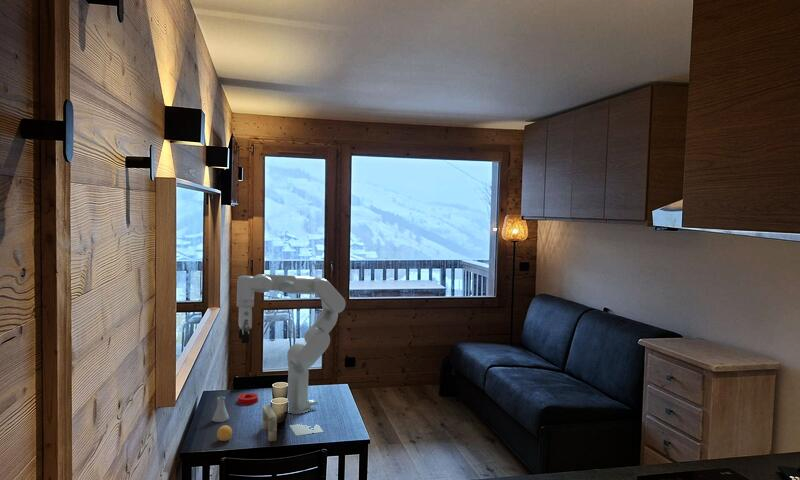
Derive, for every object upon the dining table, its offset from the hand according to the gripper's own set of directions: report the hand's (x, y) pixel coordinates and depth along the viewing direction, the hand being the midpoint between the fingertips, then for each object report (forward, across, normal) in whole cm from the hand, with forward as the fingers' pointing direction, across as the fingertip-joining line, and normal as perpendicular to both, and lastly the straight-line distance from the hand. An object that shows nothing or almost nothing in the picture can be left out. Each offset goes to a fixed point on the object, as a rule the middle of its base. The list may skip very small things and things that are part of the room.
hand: (243, 340), depth 235 cm
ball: (+33, -22, +9) cm, 41 cm away
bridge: (+35, -22, -9) cm, 43 cm away
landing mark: (+35, -22, -25) cm, 48 cm away
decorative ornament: (+36, +22, -6) cm, 43 cm away
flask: (+36, +2, +8) cm, 37 cm away
